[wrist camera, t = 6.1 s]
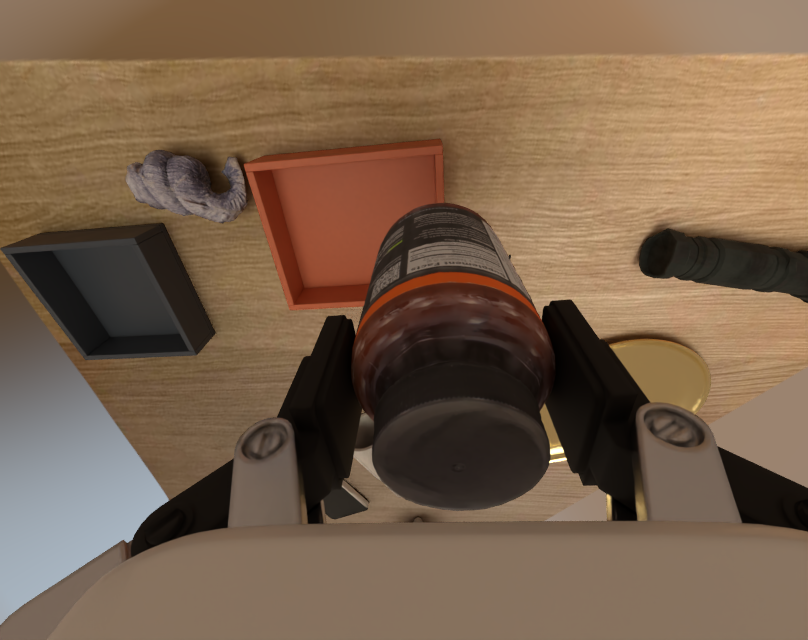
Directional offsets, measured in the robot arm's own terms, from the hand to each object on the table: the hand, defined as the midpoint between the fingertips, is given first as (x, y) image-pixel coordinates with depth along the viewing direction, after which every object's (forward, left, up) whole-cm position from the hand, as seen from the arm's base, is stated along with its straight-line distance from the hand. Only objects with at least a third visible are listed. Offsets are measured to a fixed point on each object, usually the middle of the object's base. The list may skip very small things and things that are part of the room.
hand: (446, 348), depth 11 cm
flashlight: (+9, +29, -23) cm, 39 cm away
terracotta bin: (+3, -7, -23) cm, 24 cm away
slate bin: (+8, -33, -23) cm, 41 cm away
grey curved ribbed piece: (-2, -21, -23) cm, 31 cm away
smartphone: (+46, -20, -23) cm, 55 cm away
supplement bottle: (0, 0, -7) cm, 7 cm away
